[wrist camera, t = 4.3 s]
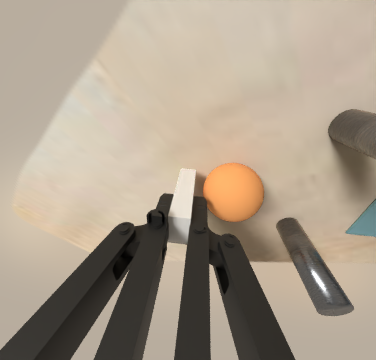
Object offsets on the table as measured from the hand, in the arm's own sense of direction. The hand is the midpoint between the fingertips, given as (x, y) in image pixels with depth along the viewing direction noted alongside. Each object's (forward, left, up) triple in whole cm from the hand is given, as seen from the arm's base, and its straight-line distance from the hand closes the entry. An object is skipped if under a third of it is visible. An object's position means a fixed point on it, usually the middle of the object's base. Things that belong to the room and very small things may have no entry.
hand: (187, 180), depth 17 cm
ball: (-4, 0, +1) cm, 5 cm away
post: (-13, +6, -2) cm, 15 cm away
